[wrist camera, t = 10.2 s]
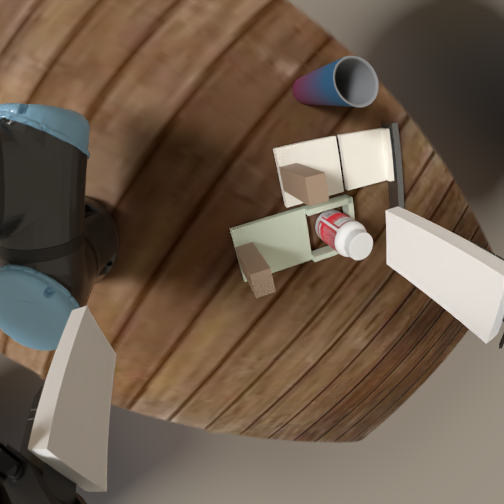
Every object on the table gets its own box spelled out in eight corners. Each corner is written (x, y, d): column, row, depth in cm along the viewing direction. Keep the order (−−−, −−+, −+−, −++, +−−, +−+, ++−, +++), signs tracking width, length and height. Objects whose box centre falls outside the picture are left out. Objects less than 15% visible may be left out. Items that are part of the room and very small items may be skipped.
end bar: (390, 231, 59) (399, 236, 56) (381, 122, 49) (391, 123, 46) (395, 229, 59) (404, 234, 56) (387, 121, 49) (397, 122, 46)
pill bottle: (330, 245, 56) (361, 271, 46) (308, 229, 54) (337, 254, 44) (348, 218, 55) (383, 239, 45) (327, 201, 52) (361, 220, 43)
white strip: (345, 188, 52) (351, 191, 50) (337, 134, 47) (344, 135, 45) (386, 178, 53) (394, 180, 51) (381, 127, 49) (389, 128, 47)
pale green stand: (243, 279, 54) (260, 314, 44) (229, 228, 50) (244, 255, 40) (350, 242, 57) (383, 267, 47) (345, 194, 52) (382, 211, 42)
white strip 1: (284, 205, 50) (312, 227, 40) (272, 148, 46) (300, 155, 36) (340, 190, 52) (377, 206, 42) (332, 135, 47) (370, 141, 37)
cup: (332, 94, 45) (387, 89, 31) (305, 117, 45) (355, 118, 32) (307, 64, 42) (358, 46, 28) (279, 86, 42) (322, 73, 29)
